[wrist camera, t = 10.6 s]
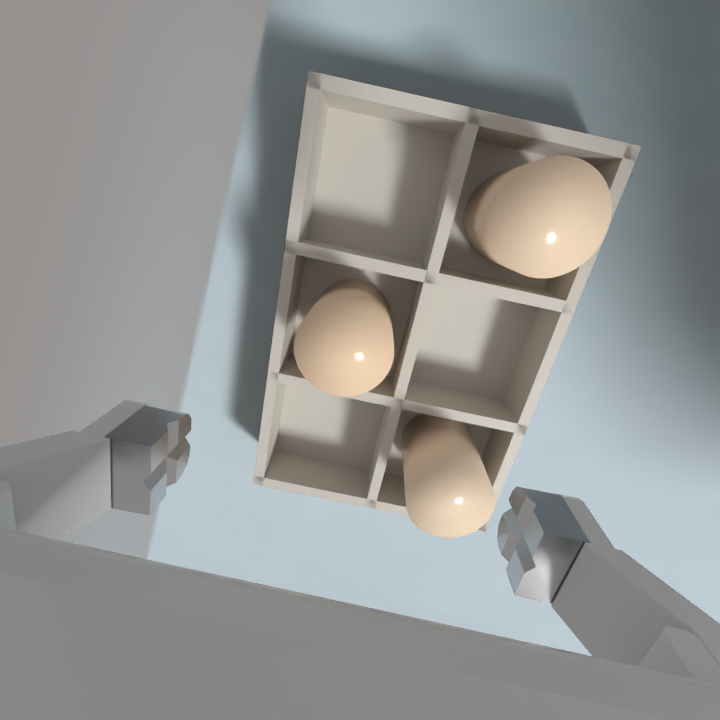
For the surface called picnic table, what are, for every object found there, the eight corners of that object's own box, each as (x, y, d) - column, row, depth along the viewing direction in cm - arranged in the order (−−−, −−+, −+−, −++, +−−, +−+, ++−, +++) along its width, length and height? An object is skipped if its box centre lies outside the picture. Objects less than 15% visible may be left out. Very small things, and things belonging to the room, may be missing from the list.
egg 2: (480, 418, 26) (507, 475, 20) (459, 476, 27) (479, 544, 22) (410, 403, 26) (418, 457, 20) (393, 462, 27) (396, 527, 22)
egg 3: (564, 181, 21) (632, 169, 15) (533, 269, 22) (584, 288, 17) (477, 162, 21) (513, 143, 15) (453, 252, 22) (477, 265, 17)
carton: (599, 156, 21) (641, 146, 17) (473, 493, 28) (485, 531, 25) (320, 93, 21) (308, 70, 17) (268, 451, 28) (252, 483, 25)
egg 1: (399, 288, 23) (404, 313, 18) (382, 361, 25) (382, 405, 19) (321, 271, 23) (301, 291, 17) (308, 346, 25) (287, 385, 19)
